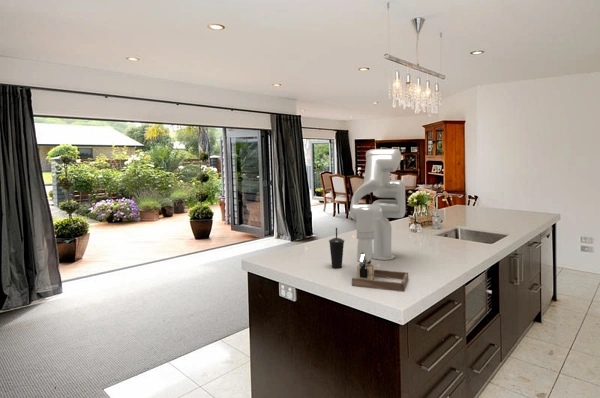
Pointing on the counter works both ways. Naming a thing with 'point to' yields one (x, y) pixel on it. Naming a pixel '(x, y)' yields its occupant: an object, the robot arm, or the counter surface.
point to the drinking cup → (336, 251)
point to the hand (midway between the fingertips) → (365, 274)
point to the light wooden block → (369, 272)
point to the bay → (383, 284)
